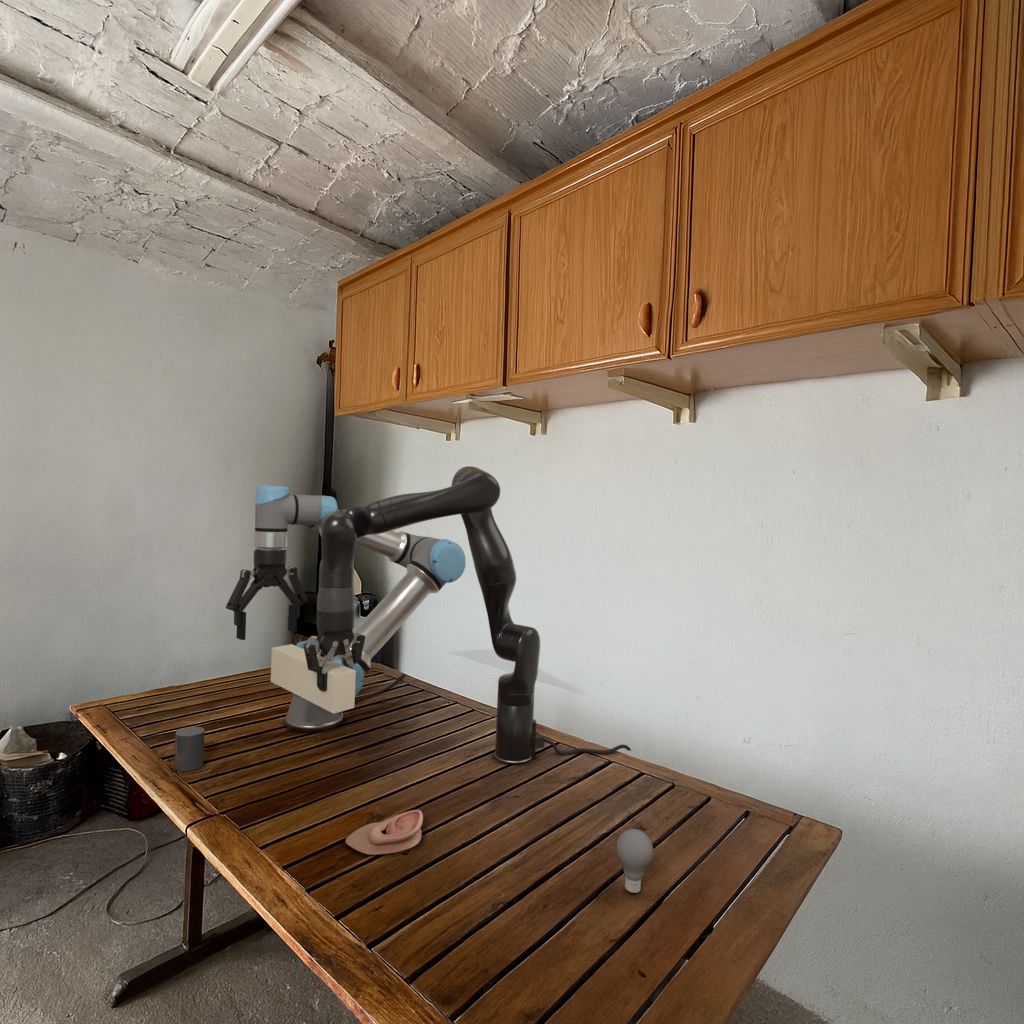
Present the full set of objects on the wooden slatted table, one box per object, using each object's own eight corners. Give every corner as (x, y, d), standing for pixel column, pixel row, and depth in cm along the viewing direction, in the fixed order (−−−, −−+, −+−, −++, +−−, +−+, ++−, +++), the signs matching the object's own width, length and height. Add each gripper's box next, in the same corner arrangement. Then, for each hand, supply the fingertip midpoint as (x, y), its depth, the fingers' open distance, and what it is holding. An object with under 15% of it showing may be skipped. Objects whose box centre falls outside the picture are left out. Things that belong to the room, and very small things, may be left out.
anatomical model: (338, 827, 114) (365, 799, 125) (337, 849, 114) (364, 818, 125) (408, 839, 111) (429, 808, 122) (407, 861, 111) (428, 828, 122)
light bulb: (610, 879, 108) (613, 822, 108) (644, 879, 109) (647, 822, 109) (619, 902, 102) (622, 840, 102) (655, 901, 103) (658, 840, 103)
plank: (270, 681, 146) (271, 647, 146) (290, 677, 150) (291, 644, 150) (333, 713, 129) (335, 675, 129) (354, 708, 133) (355, 670, 132)
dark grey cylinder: (196, 758, 150) (197, 724, 150) (208, 765, 146) (209, 731, 146) (169, 765, 145) (170, 731, 145) (181, 773, 142) (182, 738, 142)
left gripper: (306, 545, 167) (303, 626, 167) (212, 549, 148) (209, 639, 148) (323, 548, 162) (320, 630, 163) (228, 551, 143) (225, 645, 143)
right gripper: (353, 600, 141) (352, 676, 141) (295, 608, 130) (294, 691, 130) (374, 605, 136) (373, 683, 136) (316, 614, 125) (314, 699, 125)
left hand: (267, 635), depth 155 cm, fingers open, 13 cm apart
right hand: (334, 686), depth 133 cm, fingers closed on plank, 5 cm apart
